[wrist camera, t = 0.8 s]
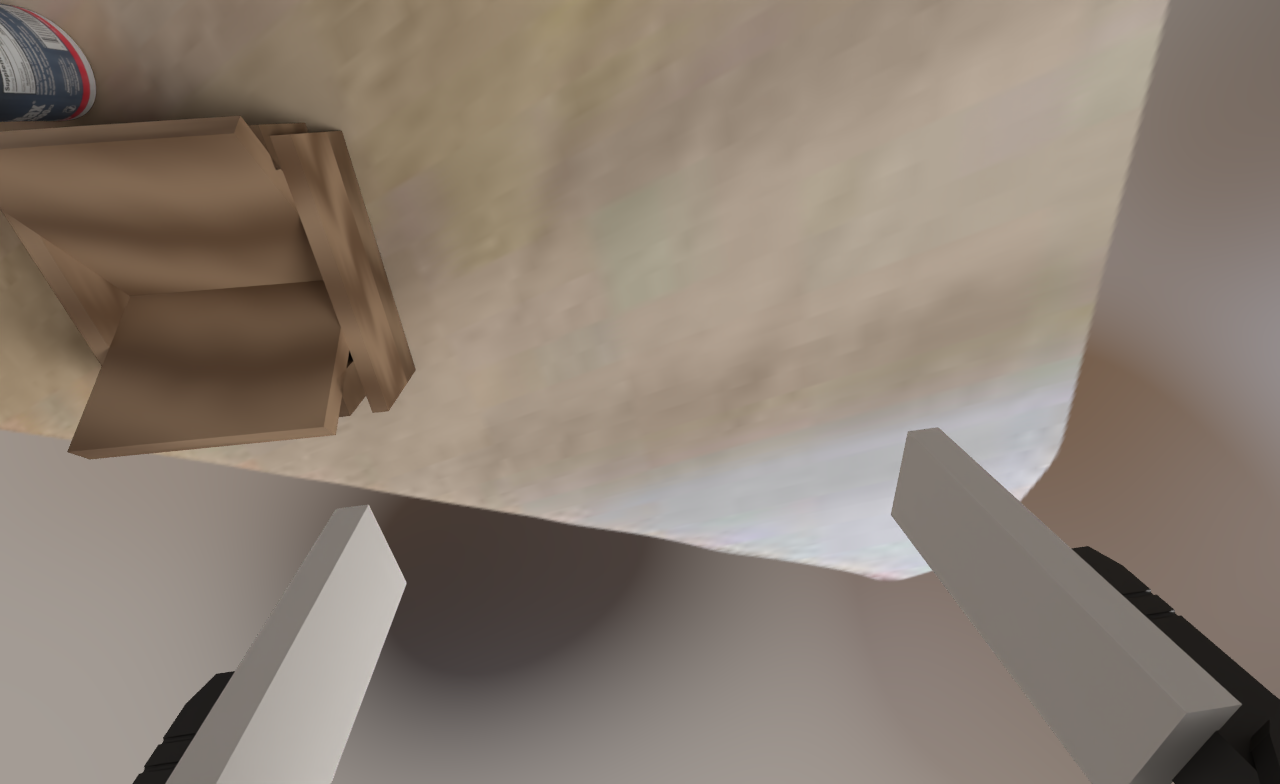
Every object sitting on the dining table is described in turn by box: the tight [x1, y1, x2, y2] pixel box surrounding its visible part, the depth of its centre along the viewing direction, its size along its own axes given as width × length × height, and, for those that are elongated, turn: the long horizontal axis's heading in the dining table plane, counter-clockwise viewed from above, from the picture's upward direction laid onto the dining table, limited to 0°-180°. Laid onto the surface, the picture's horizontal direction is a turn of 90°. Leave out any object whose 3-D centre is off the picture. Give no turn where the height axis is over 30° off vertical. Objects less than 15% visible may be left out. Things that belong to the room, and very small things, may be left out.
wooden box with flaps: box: [0, 116, 415, 459], centre depth 29 cm, size 17×15×11 cm
